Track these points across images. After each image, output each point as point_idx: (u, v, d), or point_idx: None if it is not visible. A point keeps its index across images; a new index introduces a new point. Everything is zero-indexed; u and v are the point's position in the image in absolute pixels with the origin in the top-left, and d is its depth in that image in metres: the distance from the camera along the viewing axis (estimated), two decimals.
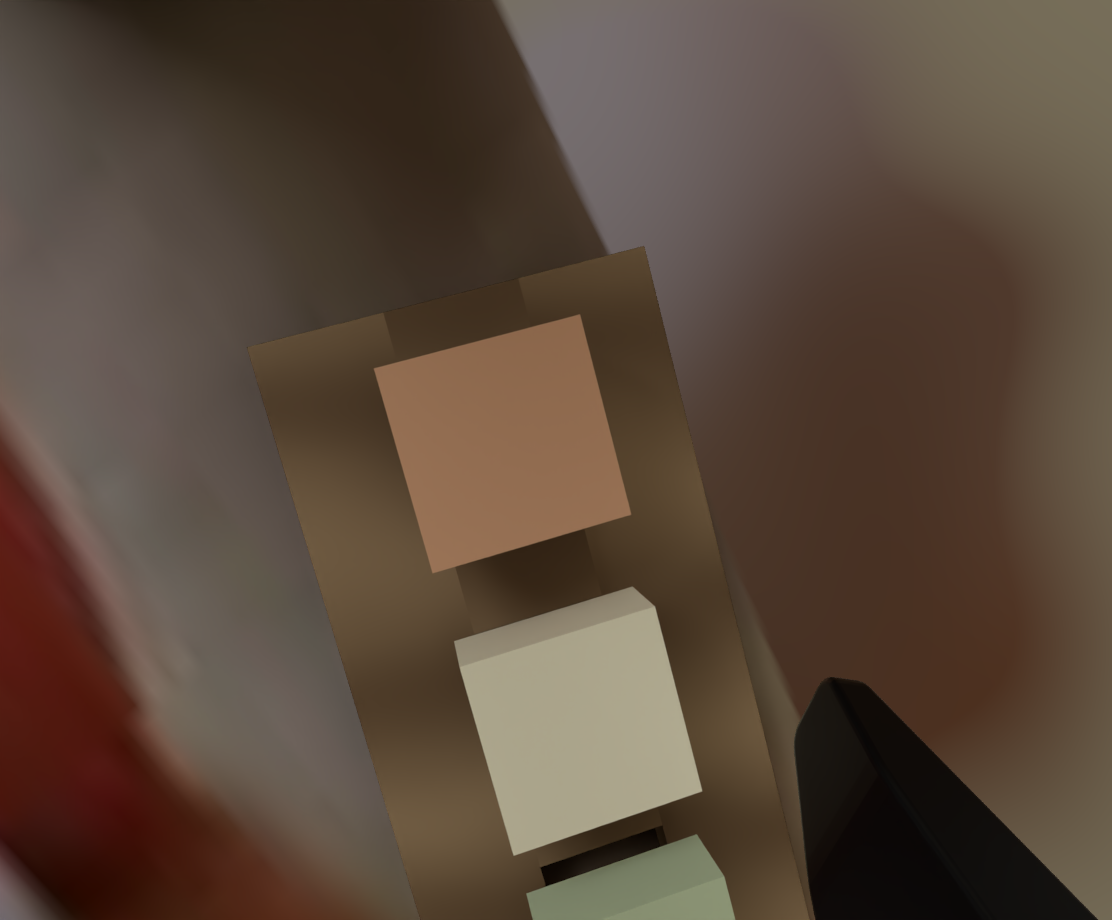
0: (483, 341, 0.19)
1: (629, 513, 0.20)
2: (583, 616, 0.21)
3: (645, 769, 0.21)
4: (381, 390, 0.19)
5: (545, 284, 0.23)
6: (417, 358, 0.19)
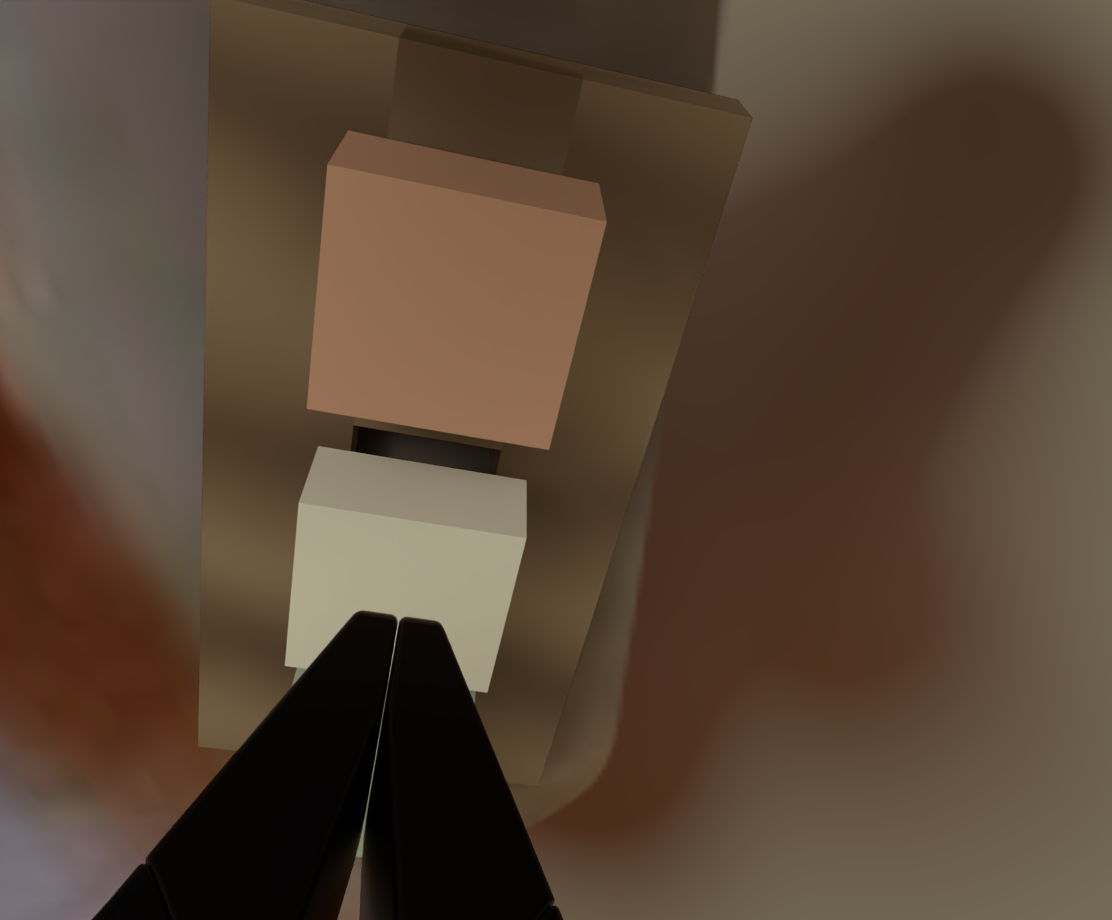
0: (475, 196, 0.15)
1: (547, 448, 0.17)
2: (455, 501, 0.19)
3: None
4: (326, 195, 0.15)
5: (610, 103, 0.18)
6: (386, 178, 0.14)
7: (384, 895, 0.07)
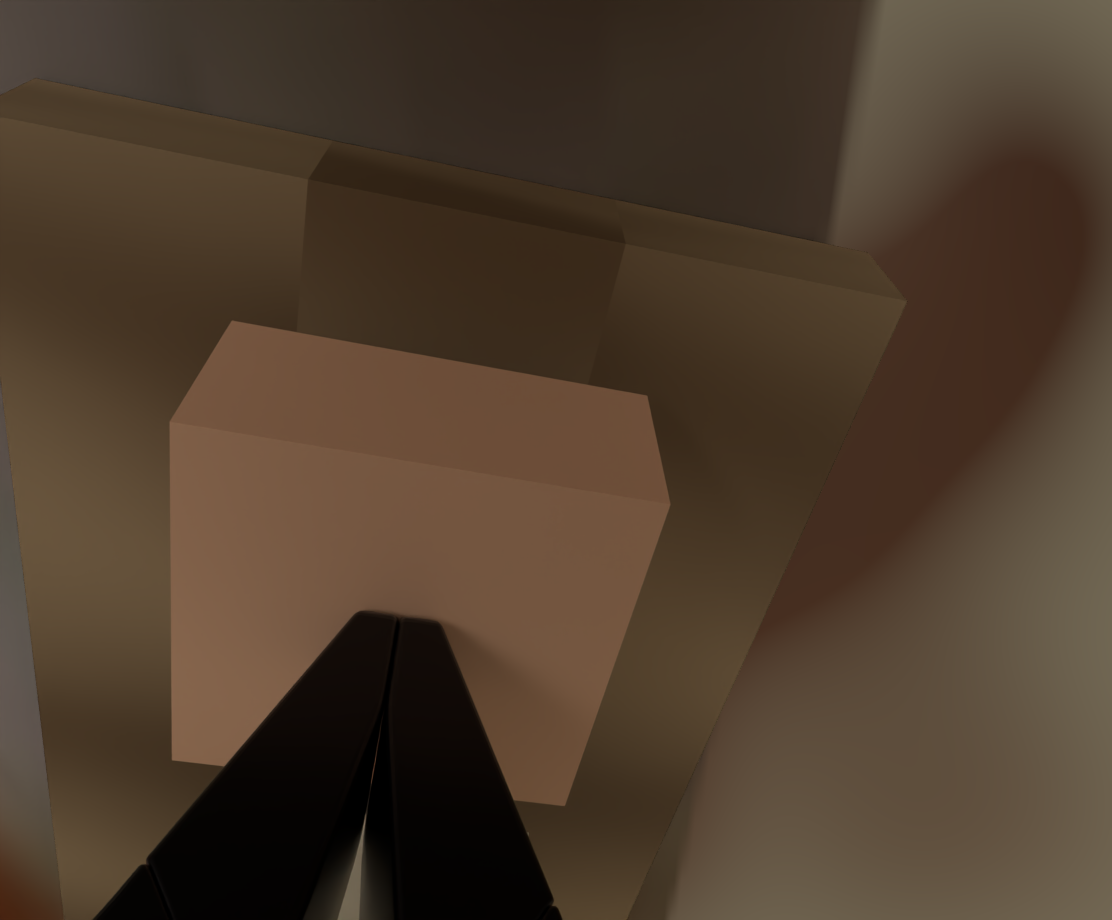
0: (439, 469, 0.08)
1: (562, 804, 0.11)
2: None
3: None
4: (171, 470, 0.08)
5: (671, 281, 0.10)
6: (277, 442, 0.08)
7: (383, 895, 0.07)
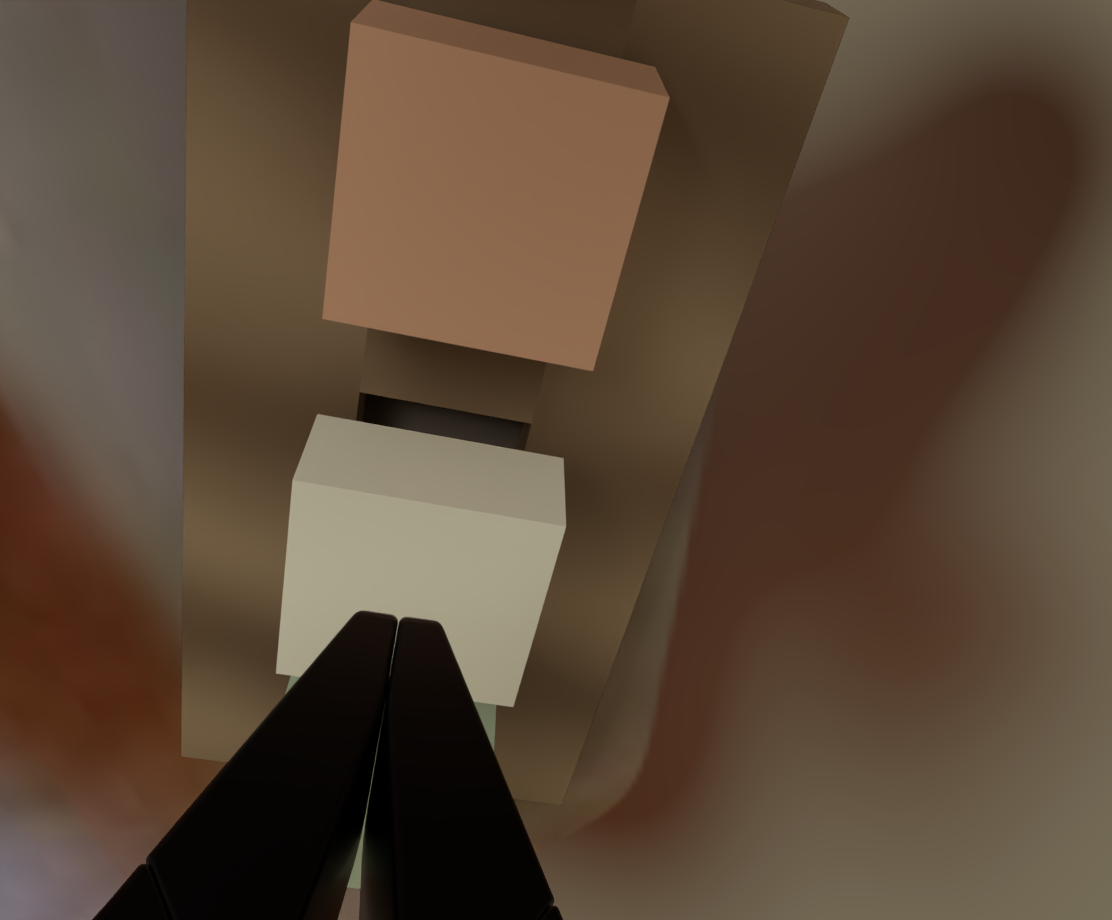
0: (520, 65, 0.13)
1: (591, 369, 0.15)
2: (480, 480, 0.16)
3: (462, 664, 0.17)
4: (348, 60, 0.13)
5: None
6: (418, 40, 0.13)
7: (383, 895, 0.07)
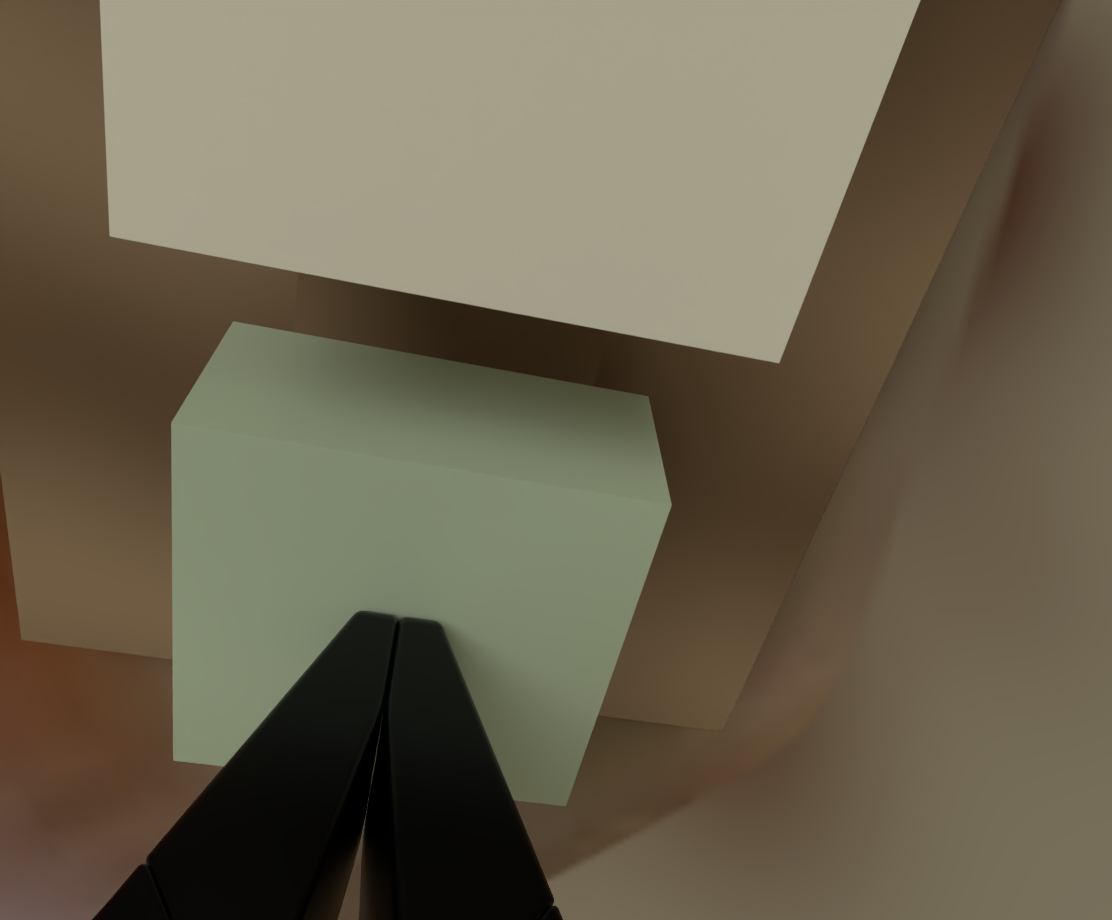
0: None
1: None
2: None
3: (658, 200, 0.06)
4: None
5: None
6: None
7: (383, 894, 0.07)
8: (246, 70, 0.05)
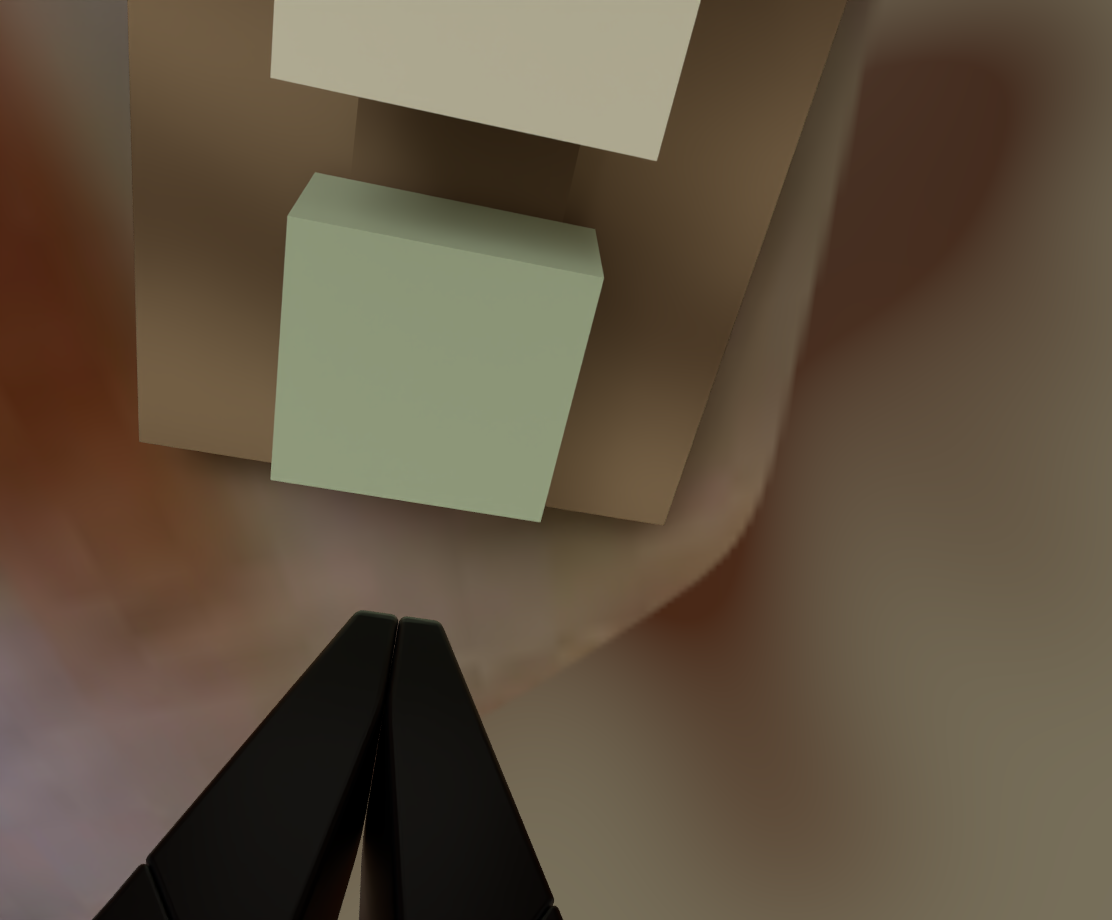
0: None
1: None
2: None
3: (581, 56, 0.10)
4: None
5: None
6: None
7: (383, 895, 0.07)
8: None
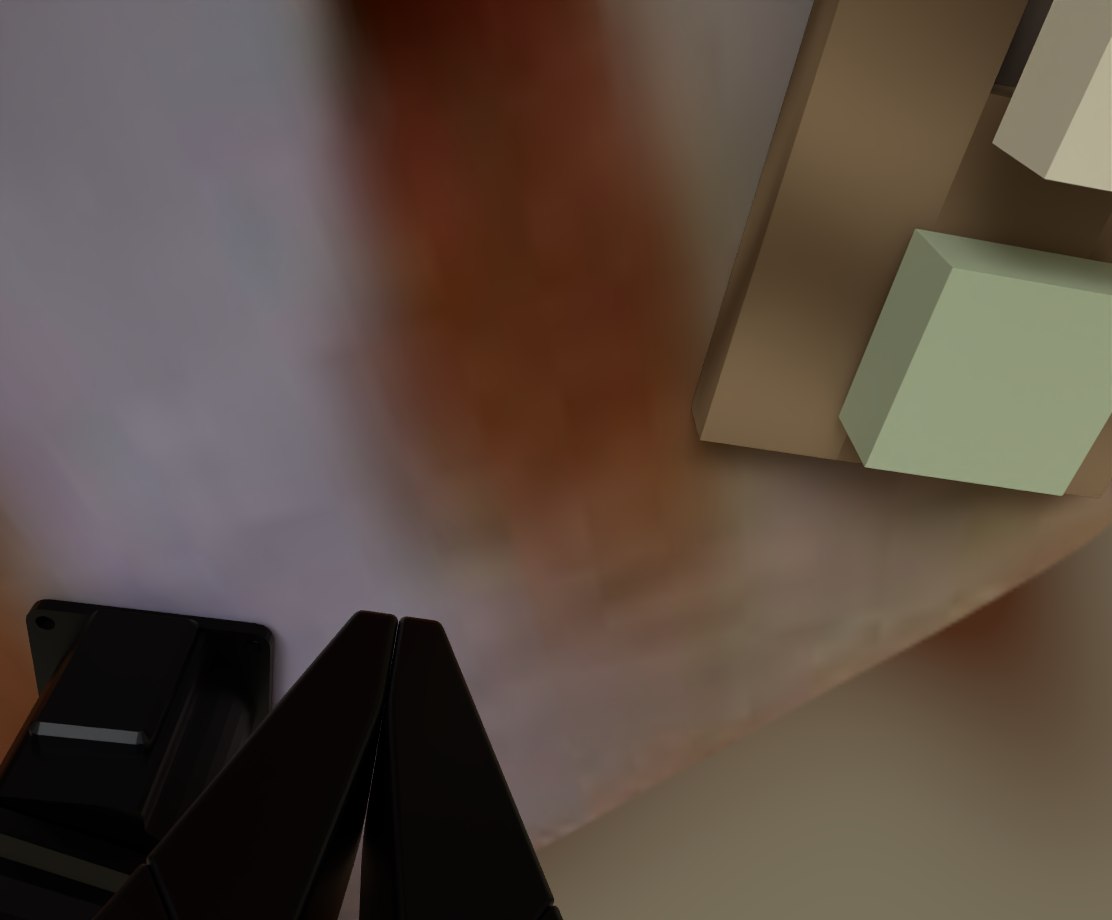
0: None
1: None
2: None
3: None
4: None
5: None
6: None
7: (384, 895, 0.07)
8: None
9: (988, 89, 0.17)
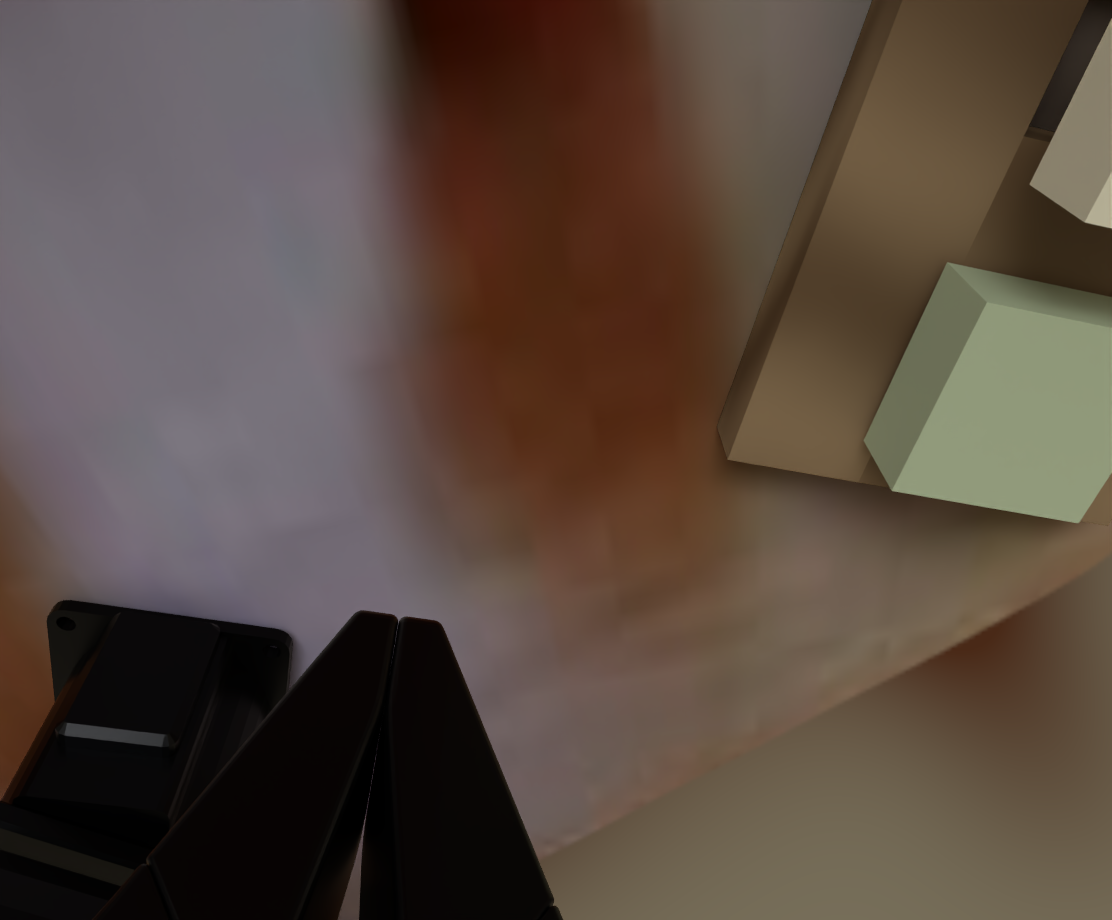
0: None
1: None
2: None
3: None
4: None
5: None
6: None
7: (384, 895, 0.07)
8: None
9: (1023, 132, 0.18)
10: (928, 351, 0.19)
